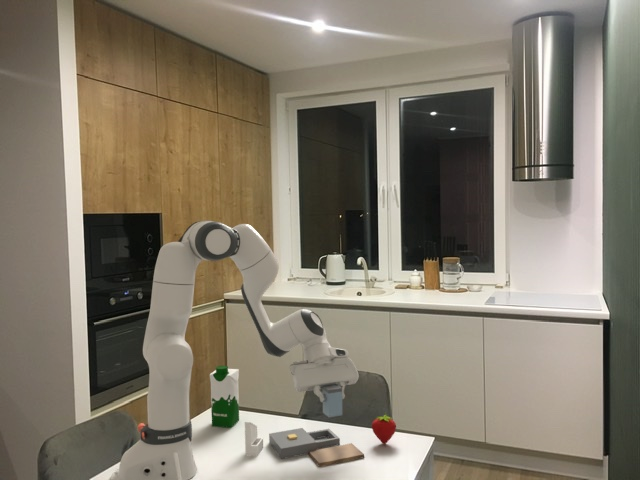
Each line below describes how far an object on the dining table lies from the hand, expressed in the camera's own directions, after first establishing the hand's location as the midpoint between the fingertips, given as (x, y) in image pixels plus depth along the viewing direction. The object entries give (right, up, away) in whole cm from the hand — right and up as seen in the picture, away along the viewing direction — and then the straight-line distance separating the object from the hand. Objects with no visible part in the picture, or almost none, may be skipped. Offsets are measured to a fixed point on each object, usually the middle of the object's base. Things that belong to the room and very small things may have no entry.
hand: (333, 399), depth 158 cm
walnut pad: (+1, -16, -1) cm, 16 cm away
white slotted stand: (-24, -17, +3) cm, 29 cm away
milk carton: (-36, -16, +26) cm, 47 cm away
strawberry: (+16, -16, +8) cm, 24 cm away
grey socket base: (-8, -16, +7) cm, 20 cm away
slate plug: (0, -4, +1) cm, 4 cm away
